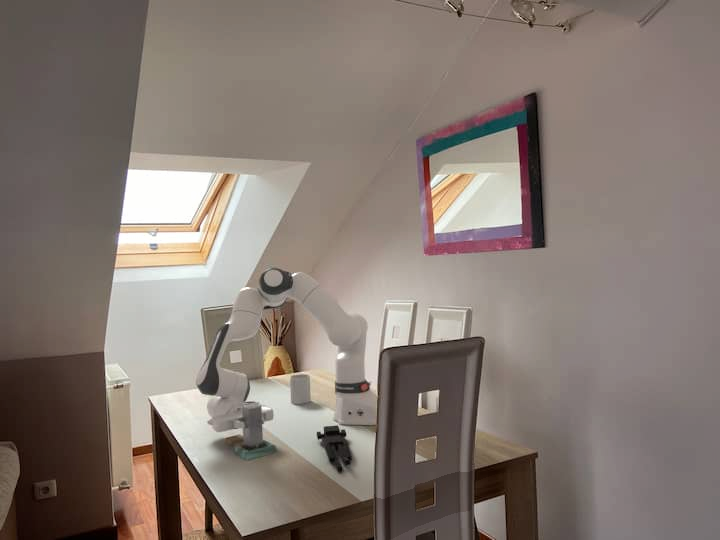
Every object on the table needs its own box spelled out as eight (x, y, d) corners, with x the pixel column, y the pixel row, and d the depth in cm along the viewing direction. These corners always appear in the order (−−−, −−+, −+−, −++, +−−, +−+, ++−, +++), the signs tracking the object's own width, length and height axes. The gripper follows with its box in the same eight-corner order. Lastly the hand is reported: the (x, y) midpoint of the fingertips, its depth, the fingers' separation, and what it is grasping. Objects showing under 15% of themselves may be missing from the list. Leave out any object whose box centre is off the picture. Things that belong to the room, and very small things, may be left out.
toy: (361, 475, 154) (344, 438, 184) (360, 459, 154) (344, 424, 183) (327, 479, 152) (316, 440, 182) (327, 462, 152) (316, 426, 182)
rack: (219, 443, 182) (219, 437, 182) (246, 437, 188) (246, 431, 188) (247, 460, 166) (246, 453, 166) (275, 452, 172) (275, 445, 172)
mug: (313, 402, 231) (312, 377, 230) (293, 405, 228) (292, 379, 228) (306, 396, 242) (305, 372, 242) (287, 398, 239) (286, 374, 239)
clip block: (243, 443, 173) (242, 406, 173) (256, 440, 176) (255, 403, 176) (249, 447, 170) (248, 409, 170) (262, 443, 173) (261, 406, 172)
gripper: (204, 411, 177) (222, 420, 166) (261, 400, 189) (281, 407, 178) (205, 431, 177) (223, 441, 166) (262, 418, 189) (282, 427, 178)
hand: (253, 424), depth 172 cm, fingers closed on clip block, 4 cm apart
